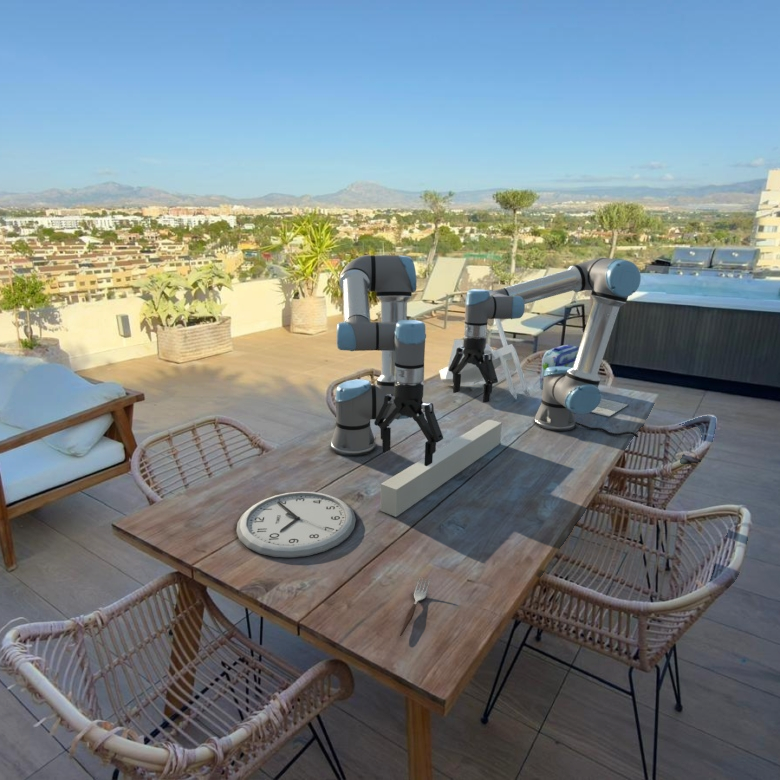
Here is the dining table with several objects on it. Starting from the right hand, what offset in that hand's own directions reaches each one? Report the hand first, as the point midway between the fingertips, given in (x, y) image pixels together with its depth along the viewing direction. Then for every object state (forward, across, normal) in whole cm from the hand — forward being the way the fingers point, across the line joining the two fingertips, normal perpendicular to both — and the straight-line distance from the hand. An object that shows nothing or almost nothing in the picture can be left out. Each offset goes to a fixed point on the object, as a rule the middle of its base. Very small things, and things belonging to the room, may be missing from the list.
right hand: (470, 397), depth 181 cm
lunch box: (+17, -17, +83) cm, 87 cm away
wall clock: (+17, +9, -74) cm, 77 cm away
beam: (+17, +13, -23) cm, 31 cm away
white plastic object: (+17, -37, +49) cm, 64 cm away
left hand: (+3, +19, -46) cm, 50 cm away
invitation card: (+17, +9, +76) cm, 78 cm away
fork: (+17, +52, -73) cm, 91 cm away
